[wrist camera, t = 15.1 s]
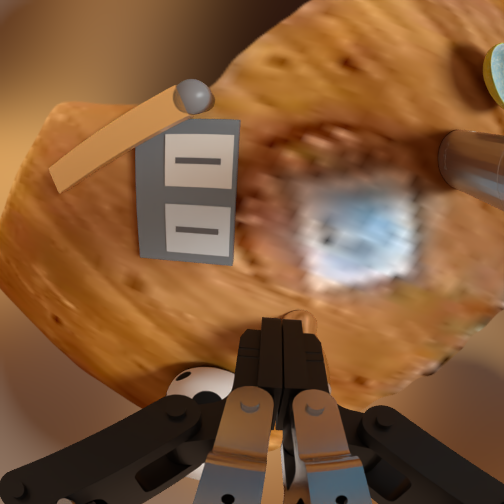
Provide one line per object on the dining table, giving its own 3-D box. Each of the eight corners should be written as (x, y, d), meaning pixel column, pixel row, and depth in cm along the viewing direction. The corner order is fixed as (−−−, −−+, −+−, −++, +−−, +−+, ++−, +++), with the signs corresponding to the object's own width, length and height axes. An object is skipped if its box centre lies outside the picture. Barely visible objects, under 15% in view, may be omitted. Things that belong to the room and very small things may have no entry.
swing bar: (204, 76, 31) (199, 73, 28) (217, 105, 32) (213, 103, 30) (58, 165, 36) (48, 168, 33) (69, 189, 37) (59, 193, 35)
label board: (240, 120, 37) (238, 119, 35) (233, 261, 45) (231, 266, 43) (140, 120, 37) (134, 120, 35) (143, 253, 45) (139, 258, 43)
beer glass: (323, 308, 47) (338, 376, 33) (315, 342, 50) (326, 410, 36) (279, 305, 47) (281, 374, 33) (275, 340, 50) (274, 409, 36)
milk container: (157, 383, 57) (130, 452, 40) (206, 343, 51) (183, 425, 35) (220, 422, 61) (209, 489, 44) (276, 390, 55) (274, 469, 39)
